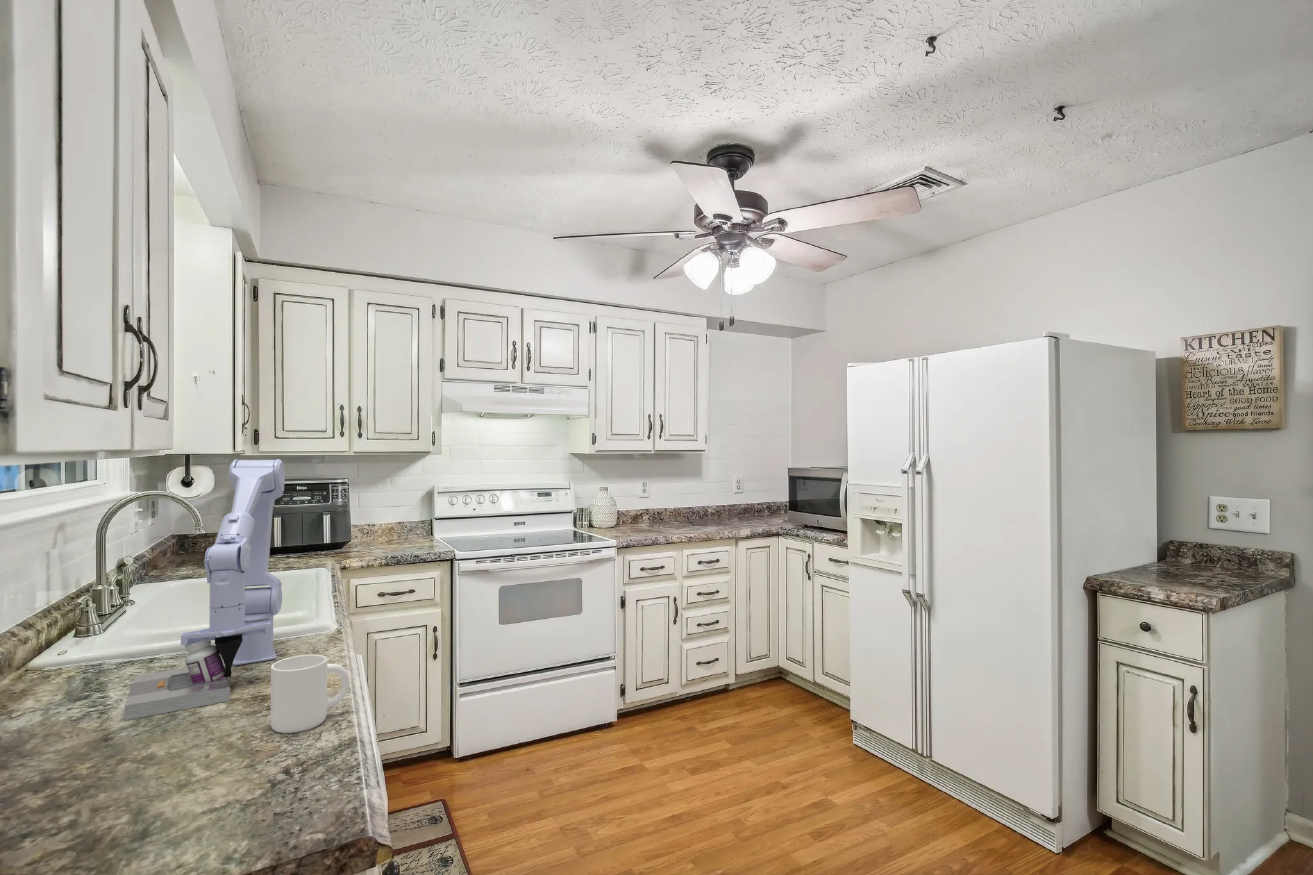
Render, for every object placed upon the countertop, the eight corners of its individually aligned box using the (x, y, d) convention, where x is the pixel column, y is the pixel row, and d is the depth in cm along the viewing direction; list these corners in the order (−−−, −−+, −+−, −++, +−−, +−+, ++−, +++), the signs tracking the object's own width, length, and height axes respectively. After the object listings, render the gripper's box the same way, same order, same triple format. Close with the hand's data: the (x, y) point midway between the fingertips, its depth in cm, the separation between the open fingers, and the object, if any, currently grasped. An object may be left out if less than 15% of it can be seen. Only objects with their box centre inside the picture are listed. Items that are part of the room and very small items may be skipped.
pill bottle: (227, 677, 128) (212, 631, 127) (230, 683, 123) (214, 636, 122) (195, 690, 124) (179, 643, 123) (196, 697, 120) (180, 649, 119)
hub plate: (134, 688, 125) (135, 674, 125) (227, 672, 133) (228, 659, 133) (124, 720, 110) (124, 704, 110) (229, 700, 118) (230, 685, 118)
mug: (343, 704, 116) (344, 647, 117) (355, 719, 110) (355, 658, 110) (267, 722, 109) (267, 661, 109) (274, 739, 103) (275, 674, 103)
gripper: (180, 614, 118) (179, 689, 117) (272, 602, 126) (272, 673, 126) (181, 608, 124) (180, 680, 123) (269, 597, 132) (269, 665, 131)
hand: (226, 676), depth 125 cm, fingers closed, pressing on pill bottle
